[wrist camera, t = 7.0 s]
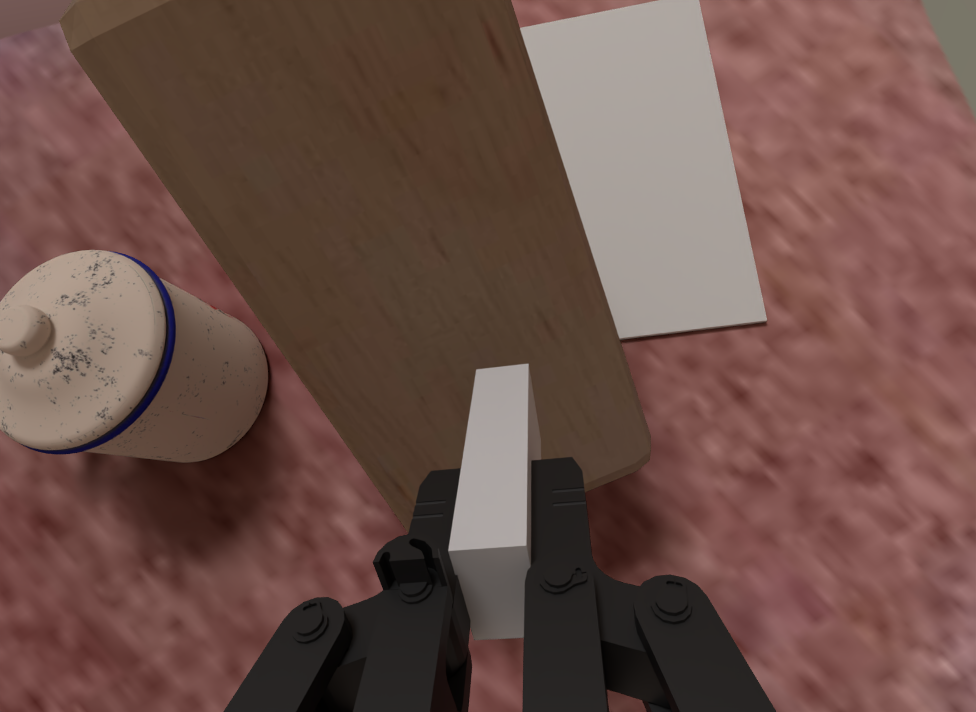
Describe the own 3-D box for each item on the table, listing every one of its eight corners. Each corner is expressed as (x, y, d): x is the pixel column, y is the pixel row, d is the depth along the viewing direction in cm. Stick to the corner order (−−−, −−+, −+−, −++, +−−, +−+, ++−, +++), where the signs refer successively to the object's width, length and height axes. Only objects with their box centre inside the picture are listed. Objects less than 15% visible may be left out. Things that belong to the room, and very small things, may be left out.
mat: (309, 377, 33) (306, 376, 33) (309, 73, 38) (307, 70, 38) (765, 322, 29) (767, 320, 29) (696, -3, 35) (697, -8, 34)
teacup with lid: (263, 291, 35) (108, 188, 24) (286, 442, 32) (124, 407, 21) (80, 349, 36) (-150, 277, 25) (88, 499, 33) (-164, 495, 22)
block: (667, 470, 22) (453, -208, 12) (422, 571, 23) (17, 8, 12) (586, 343, 31) (422, -115, 20) (410, 418, 31) (164, 10, 21)
